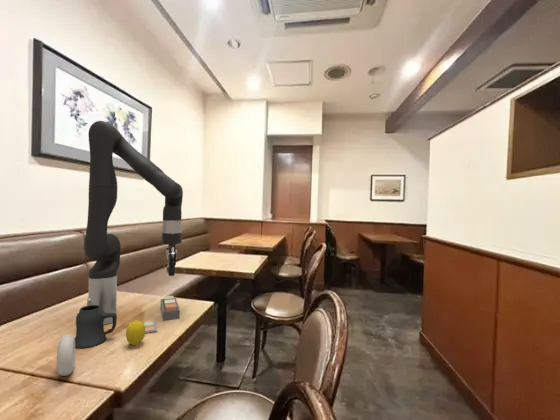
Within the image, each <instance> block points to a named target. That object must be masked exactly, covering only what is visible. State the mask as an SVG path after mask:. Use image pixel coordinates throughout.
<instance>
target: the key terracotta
mask: <svg viewBox="0 0 560 420" xmlns="http://www.w3.org/2000/svg"><path fill="white" fill-rule="evenodd" d="M171 310H177V306H176V303H173V304H165V311H171Z"/></svg>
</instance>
